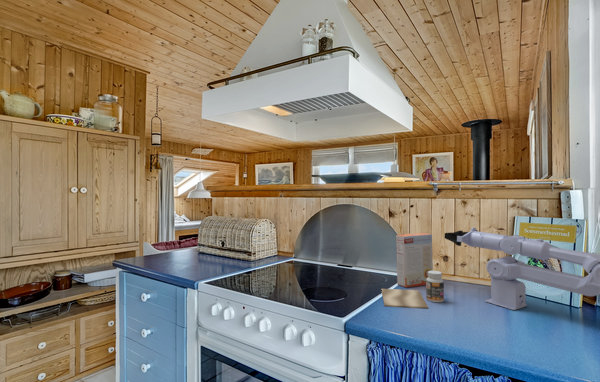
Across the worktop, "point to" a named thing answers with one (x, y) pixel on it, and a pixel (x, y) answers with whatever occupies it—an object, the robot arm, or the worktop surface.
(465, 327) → the worktop surface
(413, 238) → the cracker box
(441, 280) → the pill bottle
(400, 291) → the beige flat rectangular panel
